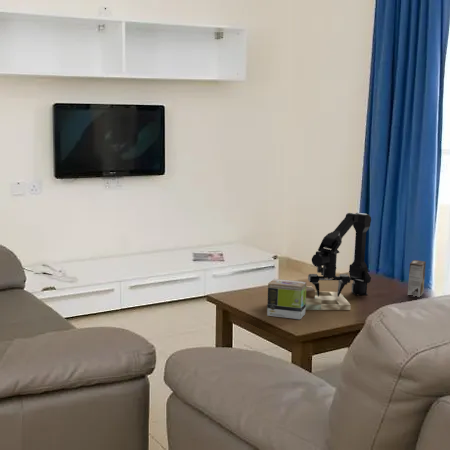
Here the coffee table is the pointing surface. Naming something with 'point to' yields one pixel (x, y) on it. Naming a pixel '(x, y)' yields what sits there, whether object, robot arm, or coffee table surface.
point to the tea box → (286, 298)
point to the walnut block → (310, 293)
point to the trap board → (327, 302)
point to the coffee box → (416, 278)
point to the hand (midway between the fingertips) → (328, 296)
